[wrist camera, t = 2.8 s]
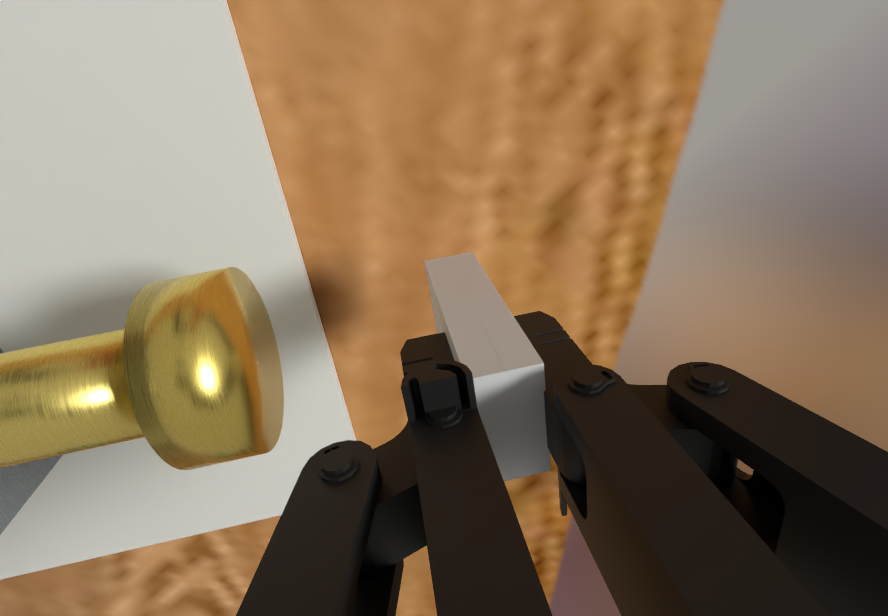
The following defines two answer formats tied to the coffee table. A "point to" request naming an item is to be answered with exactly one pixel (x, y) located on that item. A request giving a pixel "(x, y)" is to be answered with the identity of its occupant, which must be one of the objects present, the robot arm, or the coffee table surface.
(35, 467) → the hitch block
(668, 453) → the robot arm
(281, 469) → the mat
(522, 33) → the coffee table surface
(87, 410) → the pin
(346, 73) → the coffee table surface
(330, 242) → the coffee table surface
